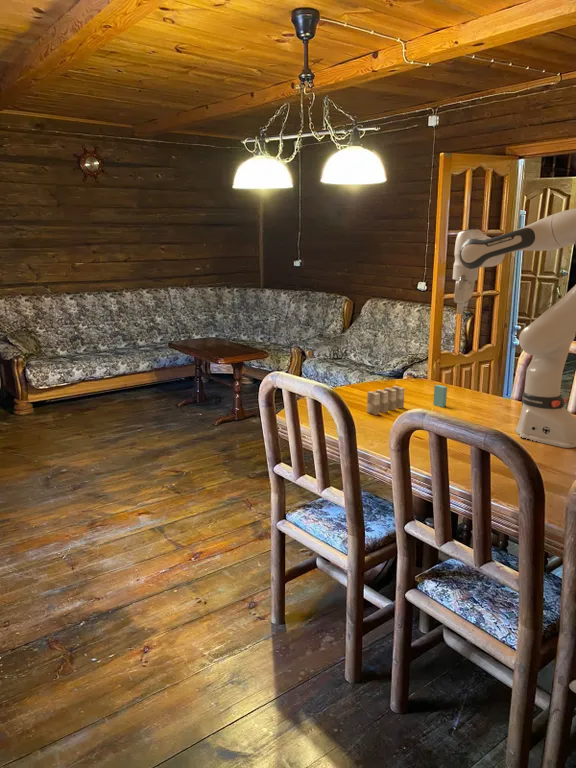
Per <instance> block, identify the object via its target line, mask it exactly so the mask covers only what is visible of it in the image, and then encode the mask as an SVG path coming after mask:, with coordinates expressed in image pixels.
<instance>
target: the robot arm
mask: <svg viewBox="0 0 576 768" xmlns="http://www.w3.org/2000/svg"><path fill="white" fill-rule="evenodd" d="M454 243H455V246H454V252H453V253H454V254H453V255H454V262H453V267H452V268H453V269H452V280H453V281H454V280H455V286H454V293H453V302H454V303H456V308H457V315H462V314H463V312H466V311H468V305H469V302H470V301H469V300H470V299H471V298H472V297H473V295H474V288H475V284H476V283H475V282H476V281H477V280H478V275H479V268H480V269H481V268H491V267H496V266H499V265H500V264H502V263H503V262H504V260H505V257H506V254H510V253H513V252H514V253H515V252H522V251H523V252H525V251H526V252H530V251H531V252H544V251H546V252H547V251H554V250H559V249H563V248H567V247H570V246H575V248H576V208H570V209H567V210H562V211H559V212H556V213H553V214H551V215H547V216H545V217H543V218H541V219H538V220H536V221H535V222H534V221H533V222H532V223H529V224H527V225H525V226H522V227H521V228H518V229H516V230H512V231H510V232H506V233H503V234H500V235H497V236H496V235H495V236H493V237H489V236H488V235H486V234H484V232H482V231H481V230H480V229H479V228H469V229H468V228H467V229H464V230H461V231H459V232H458V233H457V235H456V239H455V242H454ZM575 337H576V284H574V286H573V287H572V288H570V290H569V291H568V292H567V293H566V294H564V296H562V297H561V298H560V299H559V300H558V301H557V302H556V303H554V304H553V305H552V306H551V307H549V308H547V310H545V311H544V312H543V313H542V314H541V315H539V316H538V317H536V319H534V321H532V322H531V323H530V324H528V325H527V326H525V328H523V329H522V330H521V331H520V333H519V337H518V344H519V346H520V348H521V349H522V350H523V352H525V353H526V354H529V355H531V356H532V358H531V360H530V362H529V364H528V366H527V367H526V373H525V381H524V390H523V392H522V396H521V397H522V399H521V407H522V408H521V412H520V416H519V419H518V420H519V421H518V423H517V426H516V427H515V430H516V431H515V432H516V434H518V435H519V434H520V435H519V438H520V437H522V438H526V439H525V440H527V439H530V440H529V441H532V440H533V441H532V442H536V441H537V442H536V443H541V444H545V445H550V446H554V447H560V448H565V449H567V448H568V449H569V448H570V449H572V448H576V417H575V416H574V415H573V414H572V413H571V412H570V411H568V409H567V408H566V407H565V403H567V402H568V401H567V399H568V398H563V396H562V394H561V387H562V386H561V385H562V379H563V372H564V368H565V365H566V361H567V358H568V357H569V356H568V355H569V352H570V349H571V345H572V343H573V342H574V340H575ZM522 438H521V439H522Z"/></svg>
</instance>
